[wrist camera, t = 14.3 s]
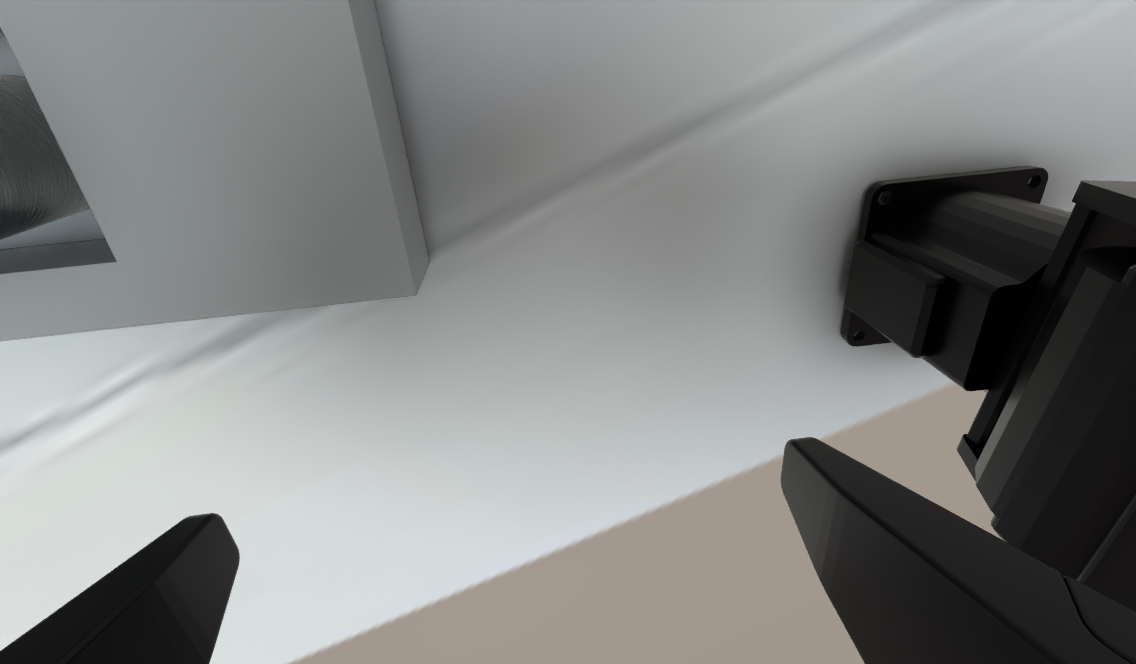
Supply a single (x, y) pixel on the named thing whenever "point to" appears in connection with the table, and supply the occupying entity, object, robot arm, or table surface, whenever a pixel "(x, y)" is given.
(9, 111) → the gold capped metal post
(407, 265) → the board
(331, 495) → the table surface
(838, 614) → the robot arm
